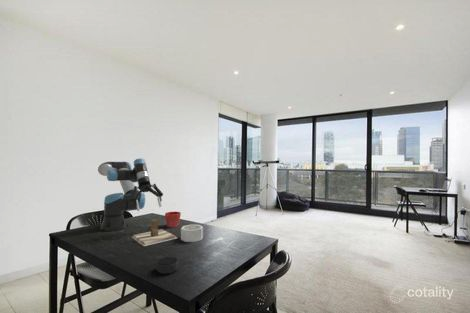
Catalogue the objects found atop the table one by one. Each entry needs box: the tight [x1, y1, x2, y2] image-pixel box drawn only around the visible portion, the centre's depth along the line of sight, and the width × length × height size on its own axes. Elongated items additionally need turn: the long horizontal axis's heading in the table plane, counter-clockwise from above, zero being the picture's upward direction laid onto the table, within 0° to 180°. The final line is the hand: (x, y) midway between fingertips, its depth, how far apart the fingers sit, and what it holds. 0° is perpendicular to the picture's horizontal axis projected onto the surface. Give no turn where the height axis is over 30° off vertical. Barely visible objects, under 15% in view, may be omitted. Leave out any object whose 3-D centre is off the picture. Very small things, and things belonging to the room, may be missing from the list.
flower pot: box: [164, 211, 182, 228], centre depth 160 cm, size 11×11×10 cm
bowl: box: [180, 224, 204, 243], centre depth 134 cm, size 12×12×7 cm
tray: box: [131, 236, 178, 247], centre depth 135 cm, size 20×20×1 cm
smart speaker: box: [156, 256, 179, 275], centre depth 96 cm, size 9×9×4 cm
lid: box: [133, 219, 177, 246], centre depth 135 cm, size 18×18×10 cm
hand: (149, 208), depth 144 cm, fingers open, 13 cm apart
